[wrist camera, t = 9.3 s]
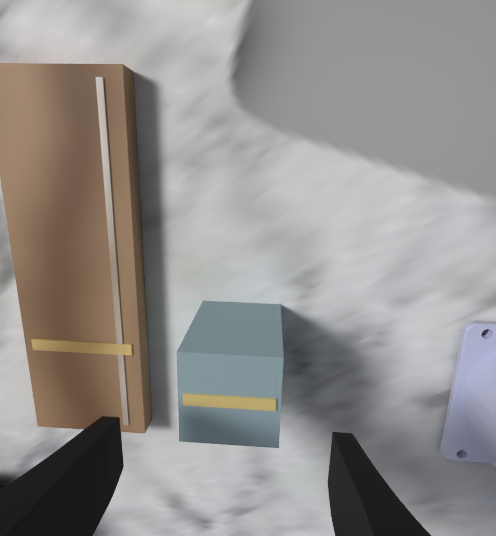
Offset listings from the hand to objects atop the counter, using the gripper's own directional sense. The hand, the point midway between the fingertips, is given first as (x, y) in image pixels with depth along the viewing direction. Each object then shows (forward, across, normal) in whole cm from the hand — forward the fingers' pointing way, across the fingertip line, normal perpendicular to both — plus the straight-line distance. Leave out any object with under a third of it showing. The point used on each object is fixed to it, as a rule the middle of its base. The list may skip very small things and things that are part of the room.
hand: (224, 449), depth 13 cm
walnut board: (+8, +8, -4) cm, 12 cm away
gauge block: (+8, 0, 0) cm, 8 cm away
